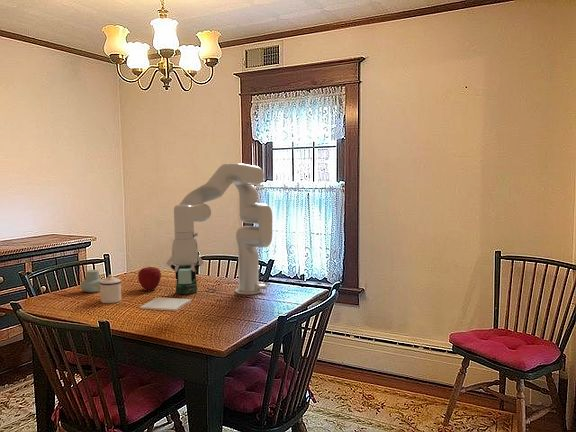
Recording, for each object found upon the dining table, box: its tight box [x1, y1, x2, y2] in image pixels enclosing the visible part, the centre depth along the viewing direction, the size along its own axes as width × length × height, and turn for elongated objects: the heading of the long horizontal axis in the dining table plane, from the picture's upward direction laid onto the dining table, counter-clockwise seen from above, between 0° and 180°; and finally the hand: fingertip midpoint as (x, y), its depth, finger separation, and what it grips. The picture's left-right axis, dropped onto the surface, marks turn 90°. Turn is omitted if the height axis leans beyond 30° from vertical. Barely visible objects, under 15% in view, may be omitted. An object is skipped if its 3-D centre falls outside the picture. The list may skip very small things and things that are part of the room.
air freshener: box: [80, 269, 102, 294], centre depth 239 cm, size 11×8×10 cm
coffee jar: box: [175, 262, 198, 295], centre depth 236 cm, size 10×8×19 cm
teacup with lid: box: [99, 274, 122, 304], centre depth 222 cm, size 12×9×12 cm
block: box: [178, 269, 192, 284], centre depth 200 cm, size 5×5×5 cm
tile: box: [139, 297, 192, 312], centre depth 216 cm, size 16×16×1 cm
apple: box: [137, 265, 162, 292], centre depth 243 cm, size 11×11×12 cm
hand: (185, 280), depth 200 cm, fingers closed on block, 5 cm apart
